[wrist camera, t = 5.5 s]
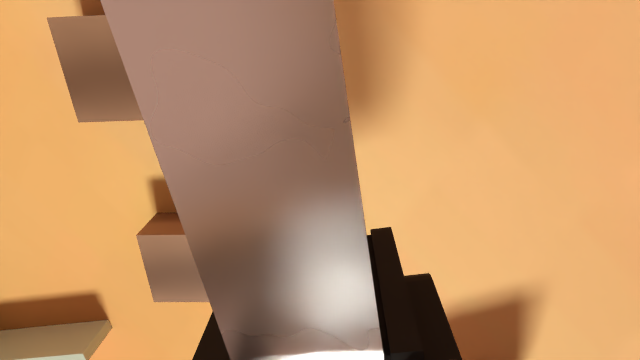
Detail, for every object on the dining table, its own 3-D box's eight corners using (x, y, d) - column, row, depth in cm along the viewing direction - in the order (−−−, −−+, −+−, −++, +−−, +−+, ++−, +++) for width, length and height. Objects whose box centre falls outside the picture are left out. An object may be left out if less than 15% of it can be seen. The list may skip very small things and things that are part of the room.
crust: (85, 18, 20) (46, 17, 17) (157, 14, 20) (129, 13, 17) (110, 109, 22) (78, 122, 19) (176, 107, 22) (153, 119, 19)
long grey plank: (189, -149, 7) (-57, -431, 3) (308, -177, 7) (257, -539, 2) (339, 466, 15) (340, 662, 10) (398, 462, 15) (426, 662, 10)
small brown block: (158, 211, 25) (136, 235, 22) (217, 210, 24) (202, 234, 22) (172, 273, 27) (153, 301, 24) (227, 272, 26) (214, 301, 24)
